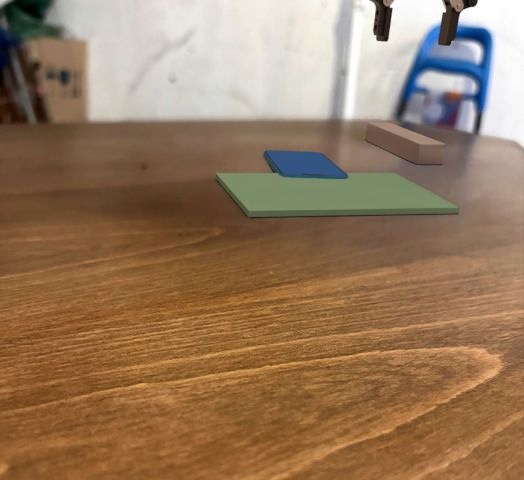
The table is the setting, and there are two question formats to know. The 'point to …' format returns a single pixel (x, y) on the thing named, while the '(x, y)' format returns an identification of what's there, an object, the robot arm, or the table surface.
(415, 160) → the strip
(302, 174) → the smartphone
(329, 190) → the mat
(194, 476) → the table surface
